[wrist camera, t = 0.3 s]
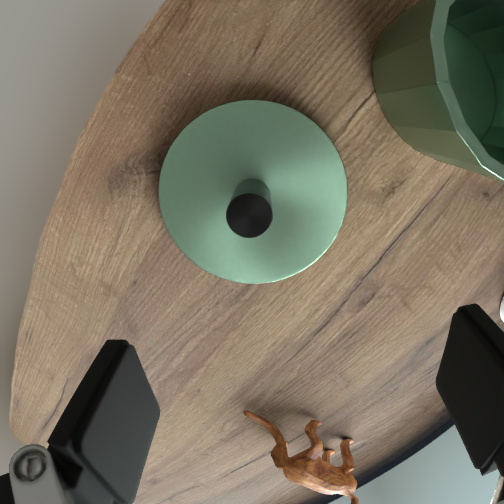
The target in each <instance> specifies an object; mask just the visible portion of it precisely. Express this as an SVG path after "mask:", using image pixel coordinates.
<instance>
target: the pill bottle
mask: <svg viewBox="0 0 504 504" xmlns="http://www.w3.org/2000/svg"><path fill="white" fill-rule="evenodd" d="M500 315H501V318H502V320H503V321H504V296H503V299H502V302H501V306H500Z"/></svg>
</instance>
